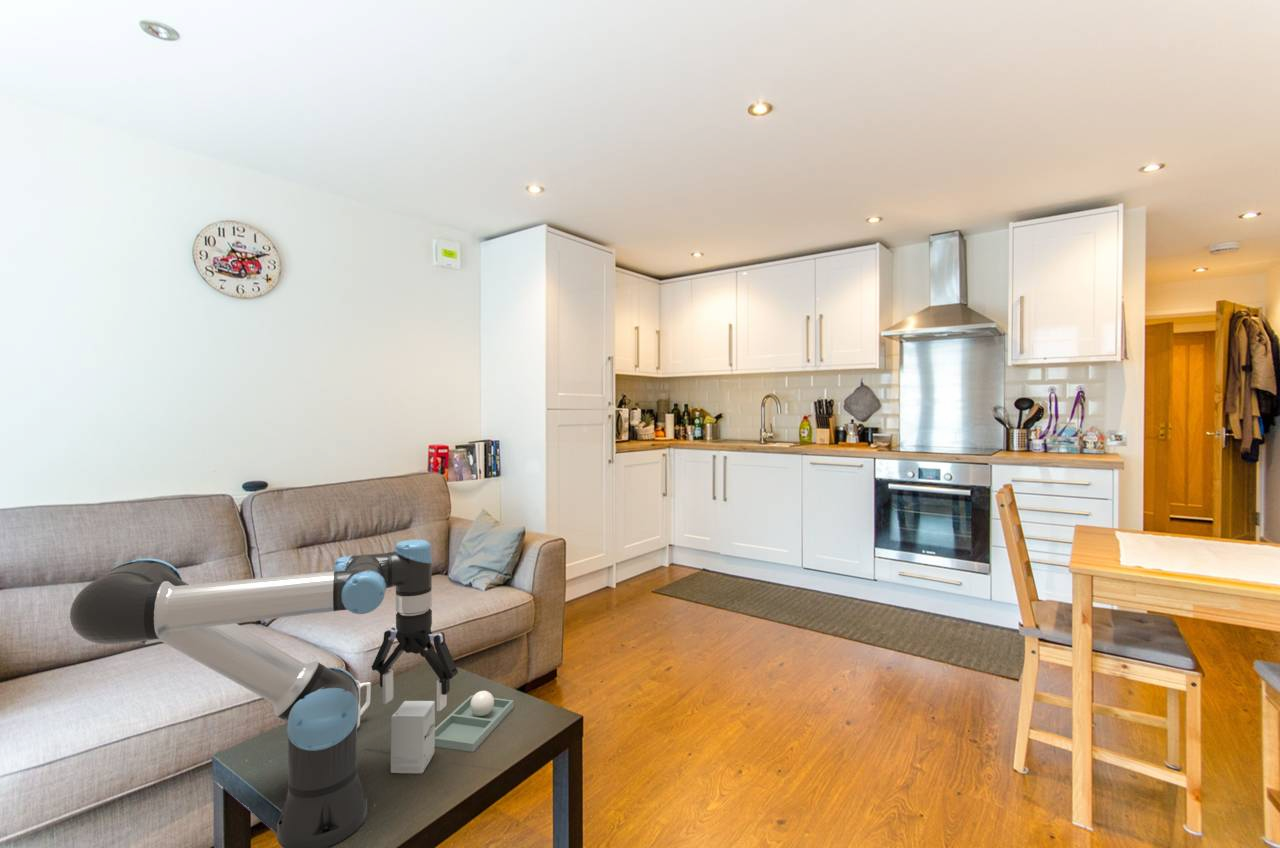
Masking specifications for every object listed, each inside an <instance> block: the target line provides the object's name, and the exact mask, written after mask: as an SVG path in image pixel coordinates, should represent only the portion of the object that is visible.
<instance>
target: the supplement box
mask: <svg viewBox="0 0 1280 848" xmlns="http://www.w3.org/2000/svg"><path fill="white" fill-rule="evenodd" d="M435 724H436V701H435V700H404V701H403V702H402V703H401V704H400V706H398V708H397V709H396V710H395V712H394V713H393V714H392V715H391V717H390V773H391V774H423V773H424V771H425V770H426V768H427V766H428V765H429V763H430V762H431V761H432V758H433V755H434V754H435V748H436V747H435V728H436V725H435Z"/></svg>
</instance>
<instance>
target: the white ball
mask: <svg viewBox="0 0 1280 848" xmlns="http://www.w3.org/2000/svg"><path fill="white" fill-rule="evenodd" d="M473 695H474V696H473V697H472V699H471V703H470V707H471V710H472V712H473V713H474V714H475V715H477V716H485V715H487V714H489V713H490V712H491V710H492V709H493V706H494V698H495V697H494V696H493V694H492V693H491V692H490V691H488V690H480V691H477V692H476V693H475V694H473Z"/></svg>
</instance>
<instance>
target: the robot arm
mask: <svg viewBox="0 0 1280 848" xmlns="http://www.w3.org/2000/svg"><path fill="white" fill-rule="evenodd" d="M432 563H433V560H432V546H431V543H430V542H429V541H427V540H425V539H407V540H402V541H399V542H397V543H396V544H395V549H394V551H390V552H381V553H369V554H367V553H366V554H357V555H356V554H352V555H348V556H341V557H338V558H337V559H336V560H335V561H334V570H333V571H324V572H321V571H320V572H313V573H311V572H310V573H303V574H302V573H301V574H292V575H289V574H288V575H280V576H270V577H257V578H247V579H239V580H238V579H237V580H227V581H226V580H225V581H215V582H205V583H204V582H203V583H195V584H188V583H187V582H185V581H184V580H183V578H182V576H181V574H180V572H179V570H178V569H177V568H176V567H175V566H174V565H172V564H171V563H170V562H167V561H165V560H162V559H158V558H148V557H147V558H139V559H138V558H137V559H135V560H134V559H133V560H130V561H127V562H124V563H122V564H119V565H117V566H115V567H113V568H112V569H110V571H108V572H107V573H105V574H104V575H102V576H101V577H98V578H97V579H95V580H94V581H92V582H90V583H89V584H88V585H86V586H85V587H84V588H82V590H80V591H79V593H77V595H76V597H75V598H74V600H73V602H72V604H71V607H70V611H69V612H70V613H69V619H70V624H71V626H72V628H73V630H74V631H75V633H76V634H78V635H79V636H81V638H83V639H84V640H87V641H89V642H91V643H95V644H99V645H121V644H122V645H123V644H128V643H137V642H138V643H139V642H141V643H143V644H144V645H150V644H153V643H159V642H160V643H163V644H166V645H167V646H169V647H170V648H173V649H174V650H176V651H178V652H179V653H182V655H183V654H184V655H185V656H187V657H189V658H190V659H192V660H194V661H196V662H198V663H200V664H201V665H203V666H205V667H207V668H208V669H209V670H212V671H214V672H216V673H217V674H219V675H221V676H223V677H224V678H227V679H229V680H231V681H232V682H233V683H235V684H237V685H239V686H241V687H243V688H245V689H246V690H248V691H250V692H252V693H254V694H255V695H257V696H259V697H261V698H262V699H264V700H266V701H267V702H270V703H272V705H273V709H274V715H275V717H277V718H279V719H281V720H283V721H284V722H287V724H286V733H287V737H288V738H287V739H288V741H287V742H288V746H287V748H288V750H287V760H288V761H287V768H288V769H287V779H288V780H287V781H288V783H287V785H288V786H287V794H286V797H285V801H284V803H283V805H282V809H281V812H280V815H279V818H278V821H277V824H276V828H277V829H276V830H277V831H276V840H277V842H278V845H279V846H280V847H281V848H328V847H331V846H333V845H335V844H337V843H340V842H342V841H343V840H345V839H346V838H349V837H350V836H351V835H353V834H354V833H355V832H357V830H358V829H359V828H360V827H361V826H362V825H363V823H364V822H365V820H366V818H367V815H368V799H367V796H366V793H365V791H364V790H363V787H362V783H361V780H360V778H359V774H358V728H357V725H358V704H359V689H358V686H357V683H356V681H355V680H356V679H355V678H354V676H353V675H352V673H350V672H349V671H347V669H344V668H341V667H336V666H330V667H327V666H326V665H324V664H322V663H320V662H319V661H316V660H314V661H311V662H307V663H304V662H302V661H300V660H299V659H297V658H296V657H294V656H292V655H291V654H288V653H287V652H285V651H284V650H282V649H280V648H278V647H277V646H275V645H273V644H272V643H270V642H268V641H267V640H265V639H264V638H262V637H260V636H258V635H257V634H255V633H253V632H252V631H251V630H248V629H247V628H245V627H243V626H242V625H240V624H242V623H248V622H255V621H256V622H257V621H267V620H272V619H273V620H274V619H280V618H281V619H282V618H290V617H299V616H306V615H307V616H308V615H314V614H322V613H330V612H339V611H349V612H351V613H352V614H357V615H364V614H369V613H372V612H374V611H375V610H376V609H377V608H379V606H381V604H382V603H383V601H384V598H385V594H386V591H387V588H392V587H393V588H394V587H395V611H396V613H395V627H391V628H389V629H387V630H385V631H384V632H383V641H382V643H381V645H380V647H379V649H378V652H377V654H376V656H375V658H374V660H373V662H372V665H371V670H372V671H374V672H375V671H377V672H378V674H379V686H380V688H382V704H383V705H387V704H388V703H389V702H390V701H392V700H393V699H394V670H393V669H392V666H393V665H394V664H395V663H396V661H397V660H398V659H399V658H400V657H401V655H403V653H404V652H405V653H406V654H409V653H410V654H415V655H418V654H420V656H421V657H423V658H424V659H425V661H427V664H429V666H430V667H431V669H432V670H433V671H434V673H435V675H436V676H437V677H438V678H439V679H437V680H436V711H437V712H441V711H442V710H443V709H444V708H445V707H446V706H448V705H447V704H448V703H447V701H448V700H447V699H448V697H447V696H448V695H447V694H448V693H450V691H451V688H450V684H451V683H450V680H451V679H452V678H454V677H455V676H456V675H458V674H459V670H458V668H457V665H456V664H455V661H454V659H453V657H452V654H451V652H450V650H449V647H448V645H447V643H446V637H445V633H444V631H442V632H439V633H433V632H432V629H431V628H432V624H433V611H432V609H431V608H432V603H433V602H432V600H433V599H432V597H433V596H432V594H433V592H432V583H433V581H432V578H433V577H432V575H433V574H432V573H433V572H432V570H433V569H432V567H433V566H432V565H433V564H432ZM395 639H396V641H397V642H398V644H397V646H396V647H395V648H394V650H393V651H392V653H391V654H390V655H389V656H388V654H389V652H390V650H391V648H392V646H393V643H394V641H395ZM386 658H387V659H386Z"/></svg>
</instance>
